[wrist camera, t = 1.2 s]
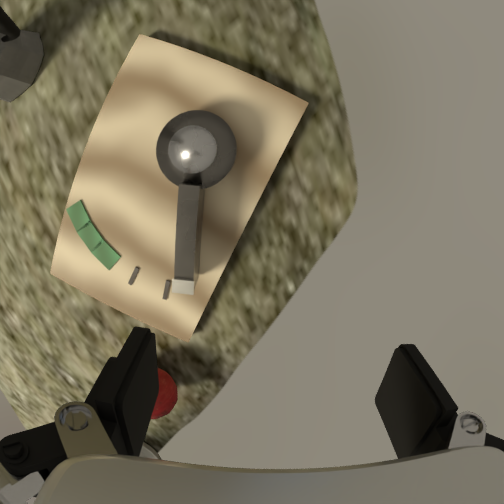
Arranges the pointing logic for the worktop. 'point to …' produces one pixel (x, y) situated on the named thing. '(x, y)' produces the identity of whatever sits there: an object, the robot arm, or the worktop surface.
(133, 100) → the tuner board
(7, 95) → the coffeepot
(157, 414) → the onion
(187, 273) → the dial
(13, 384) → the worktop surface
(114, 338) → the worktop surface
